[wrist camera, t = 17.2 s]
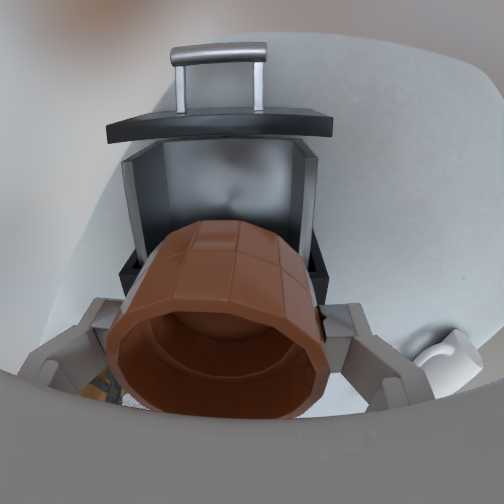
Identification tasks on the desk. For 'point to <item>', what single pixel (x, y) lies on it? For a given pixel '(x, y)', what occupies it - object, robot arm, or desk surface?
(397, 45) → the desk surface
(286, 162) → the drawer
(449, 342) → the mug
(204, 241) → the terracotta cup
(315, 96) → the desk surface
